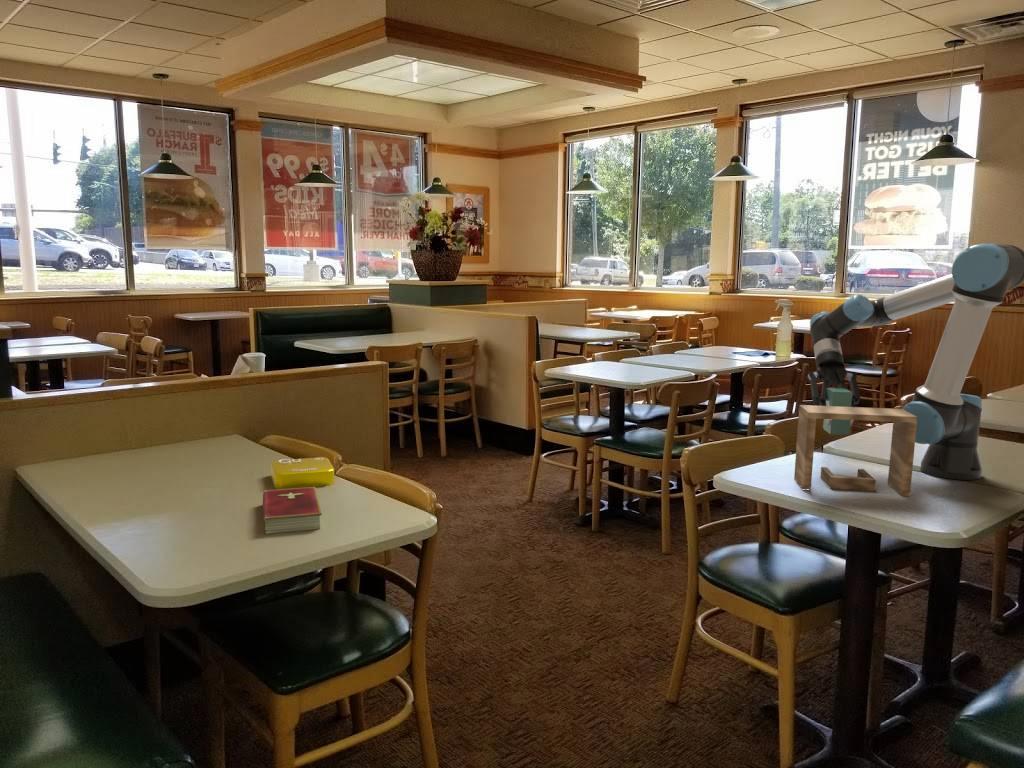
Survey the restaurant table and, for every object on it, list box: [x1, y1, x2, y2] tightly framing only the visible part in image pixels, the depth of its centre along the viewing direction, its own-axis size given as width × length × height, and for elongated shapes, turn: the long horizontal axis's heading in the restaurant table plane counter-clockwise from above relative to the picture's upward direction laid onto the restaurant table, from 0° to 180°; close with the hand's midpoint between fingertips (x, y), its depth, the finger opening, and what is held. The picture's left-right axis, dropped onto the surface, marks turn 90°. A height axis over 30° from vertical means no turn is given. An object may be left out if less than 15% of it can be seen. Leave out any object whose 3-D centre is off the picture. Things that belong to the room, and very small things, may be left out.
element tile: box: [270, 456, 335, 490], centre depth 203 cm, size 15×15×5 cm
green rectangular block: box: [822, 387, 852, 436], centre depth 217 cm, size 5×8×12 cm, turn 172°
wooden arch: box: [793, 404, 917, 497], centre depth 203 cm, size 26×14×20 cm, turn 81°
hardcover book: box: [262, 486, 323, 535], centre depth 173 cm, size 12×21×4 cm, turn 18°
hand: (840, 422), depth 214 cm, fingers closed on green rectangular block, 5 cm apart
